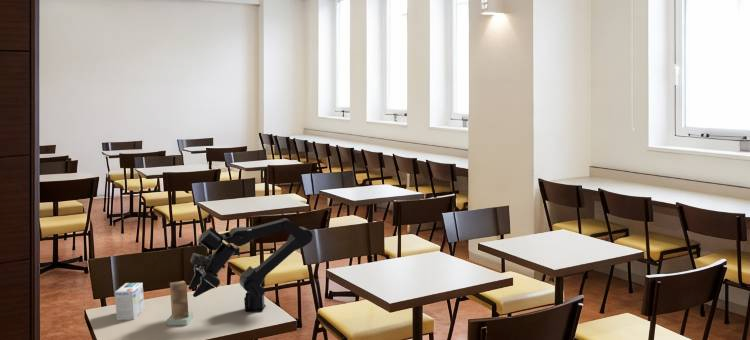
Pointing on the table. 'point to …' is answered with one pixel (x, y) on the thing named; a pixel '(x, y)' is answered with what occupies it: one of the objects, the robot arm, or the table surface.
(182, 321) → the plinth
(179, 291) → the pillar
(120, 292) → the light bulb box
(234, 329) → the table surface
